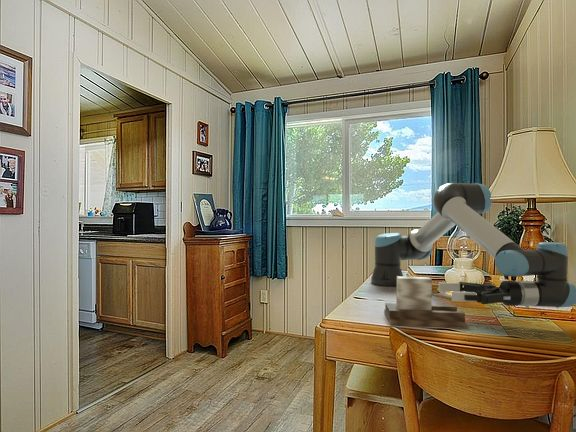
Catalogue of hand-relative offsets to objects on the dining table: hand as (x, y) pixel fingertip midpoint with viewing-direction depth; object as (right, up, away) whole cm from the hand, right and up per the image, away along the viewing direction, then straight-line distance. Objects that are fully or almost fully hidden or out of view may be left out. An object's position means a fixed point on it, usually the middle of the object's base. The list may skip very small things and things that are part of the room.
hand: (444, 291), depth 117 cm
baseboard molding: (+25, -9, +40) cm, 48 cm away
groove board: (-6, -9, +1) cm, 11 cm away
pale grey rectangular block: (-9, -8, +1) cm, 12 cm away
